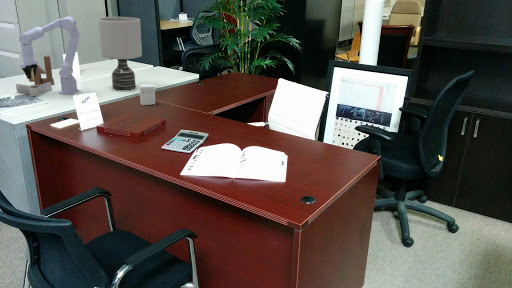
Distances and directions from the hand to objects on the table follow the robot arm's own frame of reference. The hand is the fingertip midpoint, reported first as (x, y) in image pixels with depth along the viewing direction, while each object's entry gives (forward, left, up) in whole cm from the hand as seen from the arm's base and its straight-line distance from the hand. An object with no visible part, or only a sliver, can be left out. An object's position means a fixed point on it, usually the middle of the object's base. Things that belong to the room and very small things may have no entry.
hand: (31, 77), depth 259 cm
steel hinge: (0, -1, -9) cm, 9 cm away
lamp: (-22, +47, -9) cm, 53 cm away
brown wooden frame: (-19, -3, -9) cm, 22 cm away
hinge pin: (0, 0, -2) cm, 2 cm away
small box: (+7, +71, -9) cm, 72 cm away
